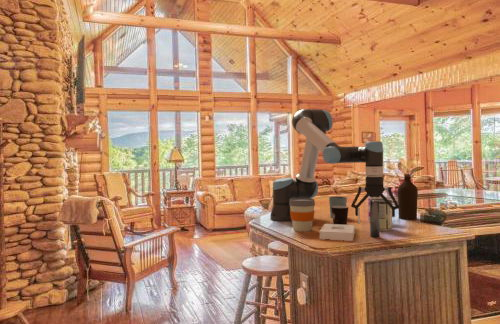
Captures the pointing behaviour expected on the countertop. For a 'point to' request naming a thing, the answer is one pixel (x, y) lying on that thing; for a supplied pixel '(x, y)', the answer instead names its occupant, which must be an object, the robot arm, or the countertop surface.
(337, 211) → the coffee mug
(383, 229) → the coffee can
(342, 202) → the drinking glass
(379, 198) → the supplement can
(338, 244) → the countertop surface
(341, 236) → the block with square hole
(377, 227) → the steel pin
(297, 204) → the reusable coffee cup
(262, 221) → the countertop surface
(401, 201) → the olive oil
